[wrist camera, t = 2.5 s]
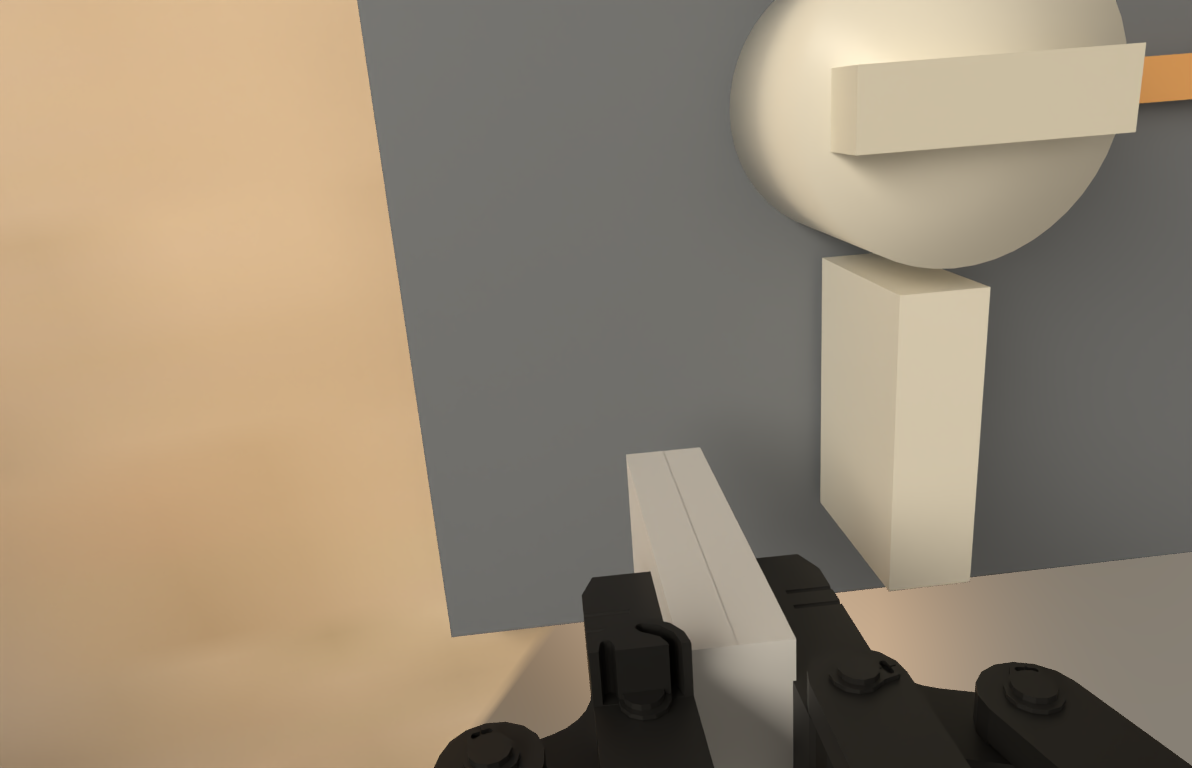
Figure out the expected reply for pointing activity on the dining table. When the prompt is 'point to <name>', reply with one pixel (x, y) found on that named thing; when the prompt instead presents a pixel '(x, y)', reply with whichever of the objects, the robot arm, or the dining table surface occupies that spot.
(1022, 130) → the dial
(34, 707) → the dining table surface
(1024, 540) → the tuner board
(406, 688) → the dining table surface
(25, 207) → the dining table surface
